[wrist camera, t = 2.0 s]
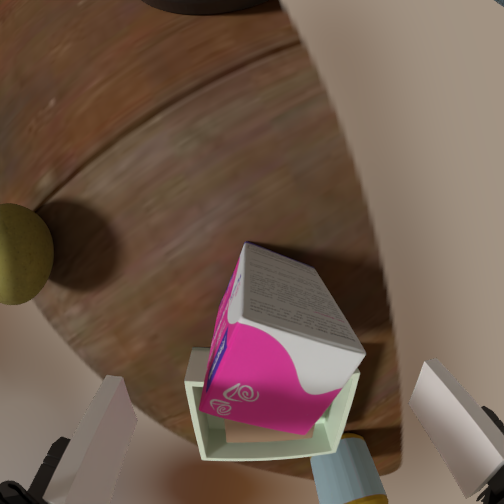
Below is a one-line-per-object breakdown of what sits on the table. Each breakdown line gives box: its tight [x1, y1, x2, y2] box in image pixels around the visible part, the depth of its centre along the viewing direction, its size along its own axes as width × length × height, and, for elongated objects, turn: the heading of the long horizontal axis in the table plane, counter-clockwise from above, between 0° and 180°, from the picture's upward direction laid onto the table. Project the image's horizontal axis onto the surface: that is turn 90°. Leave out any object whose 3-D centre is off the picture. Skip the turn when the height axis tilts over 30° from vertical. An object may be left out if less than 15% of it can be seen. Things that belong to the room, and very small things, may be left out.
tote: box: [184, 347, 360, 461], centre depth 23 cm, size 11×13×4 cm
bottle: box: [310, 433, 388, 504], centre depth 21 cm, size 7×7×15 cm
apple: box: [0, 203, 54, 305], centre depth 17 cm, size 8×8×7 cm
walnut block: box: [224, 419, 315, 443], centre depth 23 cm, size 7×8×3 cm
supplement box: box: [199, 241, 366, 435], centre depth 16 cm, size 6×6×12 cm
